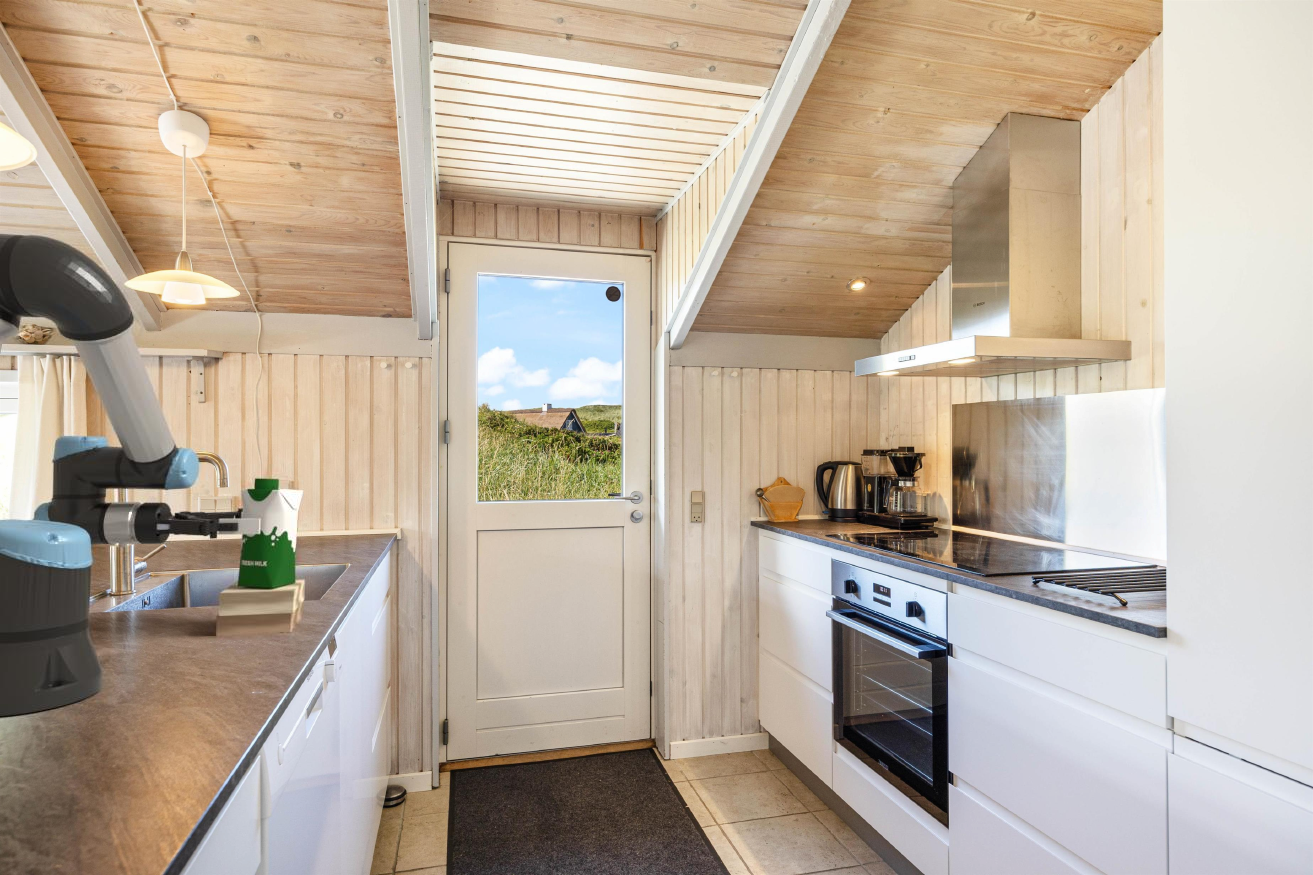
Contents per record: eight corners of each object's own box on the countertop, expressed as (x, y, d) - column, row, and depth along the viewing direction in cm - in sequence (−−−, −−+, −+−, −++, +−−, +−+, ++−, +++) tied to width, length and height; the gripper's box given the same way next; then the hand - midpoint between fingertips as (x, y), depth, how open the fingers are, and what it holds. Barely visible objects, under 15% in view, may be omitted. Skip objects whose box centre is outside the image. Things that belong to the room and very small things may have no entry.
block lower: (290, 634, 133) (290, 612, 133) (216, 638, 129) (216, 615, 130) (302, 619, 144) (303, 599, 144) (234, 622, 141) (235, 601, 141)
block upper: (293, 612, 133) (293, 590, 133) (218, 615, 129) (219, 593, 130) (304, 599, 144) (305, 579, 145) (236, 601, 141) (237, 581, 141)
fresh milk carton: (229, 586, 133) (236, 477, 135) (261, 580, 142) (267, 478, 144) (274, 588, 132) (280, 479, 134) (303, 582, 141) (309, 479, 143)
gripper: (167, 535, 144) (284, 534, 150) (107, 553, 120) (250, 551, 126) (168, 497, 144) (285, 497, 150) (109, 508, 120) (251, 508, 126)
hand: (269, 522), depth 138 cm, fingers open, 13 cm apart
